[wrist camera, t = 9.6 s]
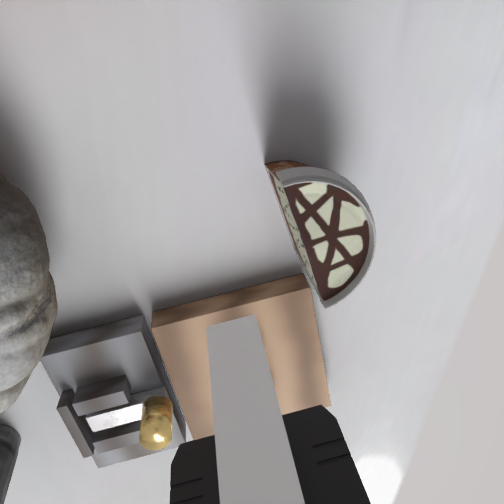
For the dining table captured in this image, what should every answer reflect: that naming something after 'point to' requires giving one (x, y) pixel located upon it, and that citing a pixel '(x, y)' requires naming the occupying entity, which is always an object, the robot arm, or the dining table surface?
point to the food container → (325, 226)
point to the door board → (182, 364)
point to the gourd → (22, 292)
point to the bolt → (140, 417)
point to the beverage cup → (7, 457)
